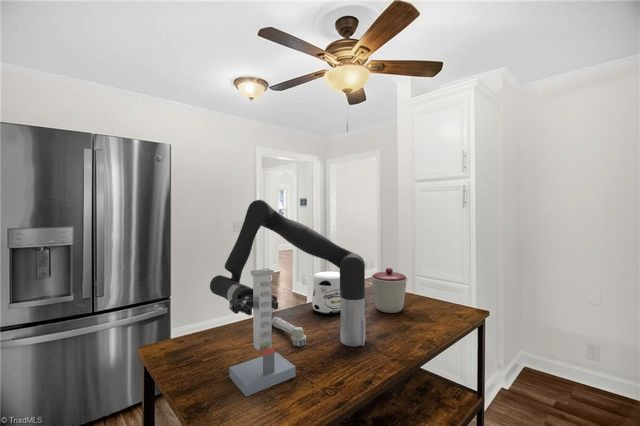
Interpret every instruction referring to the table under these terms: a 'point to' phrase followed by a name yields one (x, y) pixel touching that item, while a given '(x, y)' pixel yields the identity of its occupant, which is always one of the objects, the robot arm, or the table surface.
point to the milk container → (326, 293)
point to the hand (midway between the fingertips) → (264, 308)
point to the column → (262, 309)
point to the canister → (389, 290)
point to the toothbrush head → (290, 330)
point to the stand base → (262, 372)
